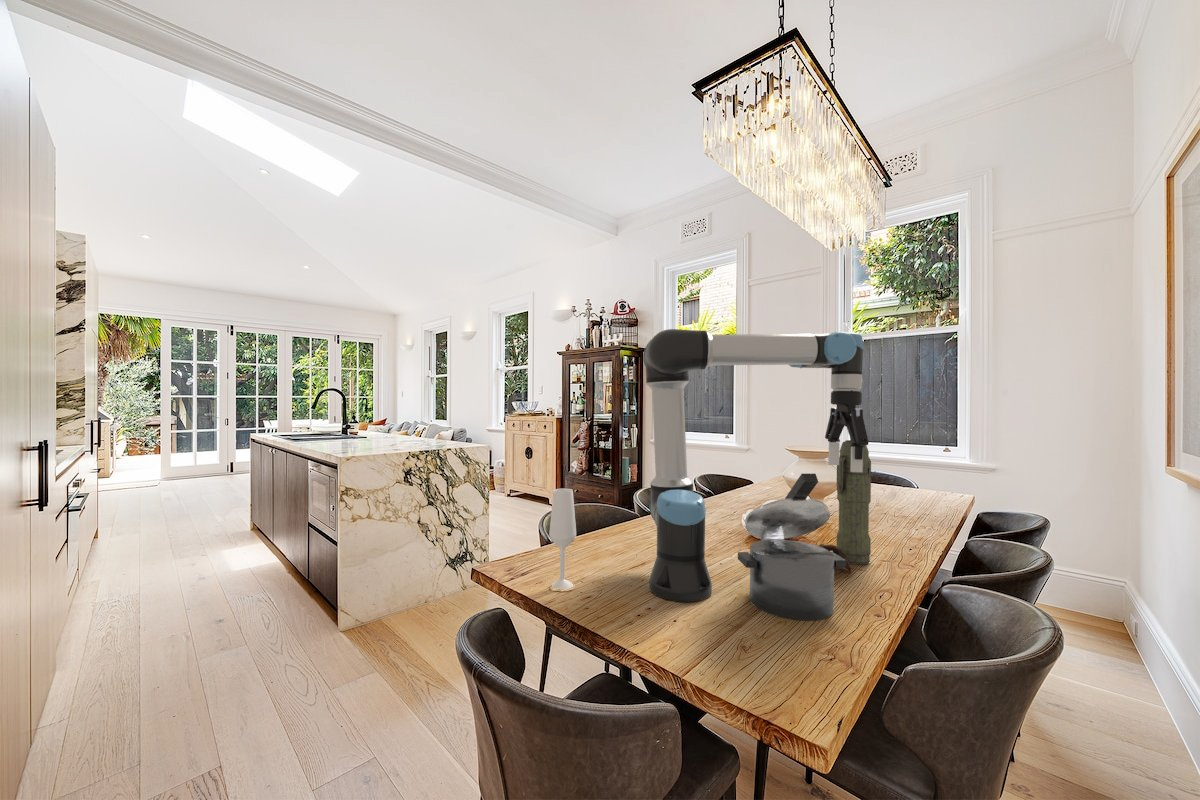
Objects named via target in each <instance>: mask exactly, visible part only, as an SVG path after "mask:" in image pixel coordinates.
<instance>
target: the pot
mask: <svg viewBox="0 0 1200 800" xmlns="http://www.w3.org/2000/svg"><path fill="white" fill-rule="evenodd" d="M737 560H739V561H738V562H740V563H741V564H742V565H743V566H744V567H745V568H748V569H749V600H750V602H752V603H751V604H754V605H755V606H754V605H753V606H754V607H756V608H757V609H758V610H760V609H761V611H762V610H763V612H765V613H766V612H767V613H766V614H769V615H771V614H772V615H771V616H775V617H777V618H782V619H786V620H791V621H802V622H803V621H805V622H811V621H812V622H813V621H821V620H822V621H823V620H825V619H828V618H831V616H832V615H833V614H834V609H835V602H834V601H835V570H834V567H836V568H838V569H842V568H844V569H845V568H846V560H845V559H843V558H842V557H840V556H838V555H837V554H835V553H834V552H833V551H829V550H827V549H825V548H822V547H819V546H818V545H817V544H812V543H808V542H803V541H797V540H790V539H789V540H788V539H785V538H784V539H765V538H760V540H758V541H754V542H752V543H751V544H750V547H749V552H748V551H738V552H737Z"/></svg>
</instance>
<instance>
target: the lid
mask: <svg viewBox="0 0 1200 800" xmlns="http://www.w3.org/2000/svg"><path fill="white" fill-rule="evenodd" d="M817 484H819V479H818V476H817V474H816V473H801V474H800V475H799V476H798V479H796V481H795V483H794V485H793V486H792V487H791V489H789V492H788V493H787V495H786V496H785V498H784V499H783V498H782V499H777V500H774V501H771V502H768V503H765V504H763V505H760V506H758V507H756V508H755V509H752V511H750V512H749V513H748V514H747V515H746V517H745V518H744V525H745V530H746V531H747V533H749V534H750V535H751V536H753V537H756V538H760V539H761V538H765V539H784V540H785V539H792V538H795V537H802V536H803V535H806V534H810V533H812V532H815V531H817V530H819V529H820V528H822V527H824V525H826V524H827V522H828V521H829V520H830V517H831V514H830V510H829V508H828V506H827V504H825V503H824V502H823V501H820V500H818V499H814V498H808V496H810V493H811V492H812V491H813V490H814V489H815V487H816V486H817Z"/></svg>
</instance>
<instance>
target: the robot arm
mask: <svg viewBox="0 0 1200 800" xmlns="http://www.w3.org/2000/svg"><path fill="white" fill-rule="evenodd" d="M643 350H644V351H643V355H642V356H643V358H642V359H643V360H642V361H643V363H644V366H645V385H647V387H649V388H650V390H651V392H652V394H651V396H652V400H651V401H652V416H653V417H652V418H653V419H652V420H653V421H652V422H653V439H654V440H653V443H654V444H653V446H654V463H655V464H654V467H655V468H654V469H655V477H654V478H653V479H652V480H651V481H650V482H649V483H650V500H649V506H648V507H649V512H650V516H651V517H652V519H653V521H654V523H655V526H656V557H655V560H654V564H653V567H652V570H651V573H650V576H649V581H648V583H649V585H648V586H649V587H648V588H649V591H650V590H651V591H652V592H653V593H654V594H653V593H652V592H651V591H650V592H651V593H652V594H653V595H655V594H656V595H655V596H657V595H658V596H657V597H659V596H660V597H659V598H661V597H662V598H661V599H664V598H665V600H668V599H669V600H668V601H672V600H675V601H674V602H681V601H684V602H683V603H687V602H689V603H690V601H691V603H692V602H698V601H702V600H705V599H707V598H709V597H710V596H711V595H712V593H713V590H712V589H713V588H712V586H713V584H712V583H713V582H712V579H711V576H710V573H709V570H708V566H707V563H706V559H705V556H706V555H705V553H706V552H705V550H706V548H705V547H706V513H707V509H706V503H705V500H704V499H705V498H704V497H702V495H701V494H699V493H696V492H694V481H693V480H692V479H691V478H690V477H689V475H688V466H687V465H688V464H687V463H688V462H687V461H688V460H687V443H686V442H687V440H686V437H687V436H686V418H685V417H686V416H685V393H684V391H685V390H684V389H685V387H686V386H687V385H688V384H689V382H690V378H689V371H693V370H694V371H698V370H707V369H708V368H709V367H710V366H785V365H787V366H789V367H791V368H798V369H804V368H805V369H830V370H831V373H830V374H831V375H830V389H831V392H830V404H831V405H834V406H835V405H836V407H831V408H830V413H829V418H828V423H827V427H826V432H825V435H824V439H826V440H827V442H828V456H827V457H828V461H827V463H828V465H829V466H837V465H839V457H840V448H841V445H840V444H841V443H840V442H841V440H840V437H841V435H842V431H843V430H844V427H846V430H847V432H848V435H849V437H850V440H851V441H852V444H851V445H850V446H851V469H850V472H863V447H864V446H865V445H867V446H869V439H868V435H867V428H866V425H865V421H864V412H863V411H864V410H863V408H857V407H856V406H860V405H861V406H862V404H863V403H862V402H863V401H862V400H863V396H862V395H863V393H862V391H860V390H862V386H863V382H864V378H863V360H864V359H863V356H864V355H863V354H864V341H863V336H862V334H860V333H857V332H845V331H833V332H831V333H815V334H813V333H797V334H796V333H789V334H787V333H786V334H785V333H783V334H782V333H779V334H777V333H776V334H772V333H770V334H769V333H768V334H763V333H762V334H760V333H759V334H756V333H755V334H711V333H710V332H708V331H707V330H699V329H698V330H693V329H679V328H678V329H677V328H669V329H665V330H661V331H659V332H658V333H656V334H655V335H654V336H653V337H652V339H650V340H649V341H648V343H647V344H646V346H645V349H643ZM685 601H686V602H685Z"/></svg>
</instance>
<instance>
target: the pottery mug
mask: <svg viewBox="0 0 1200 800" xmlns="http://www.w3.org/2000/svg"><path fill="white" fill-rule="evenodd" d="M817 546H819V547H822V548H825V549H827V550H829V551H830V552H834V553H835V554H837V555H838V556H840V557H842V558H843V559H845V560H846V568H841V569H842V570H844V569H845V570H846V571H848V573H850V574H852V567H851V565H850V563H848V562H849V560H848V559H847V555H846V554H845V553H844V552H843V551H841V549H840V548H839V547H837V545H834V544H824V543H821V544H818V545H817ZM838 569H839V568H836V567H834V571H835V570H838Z"/></svg>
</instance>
